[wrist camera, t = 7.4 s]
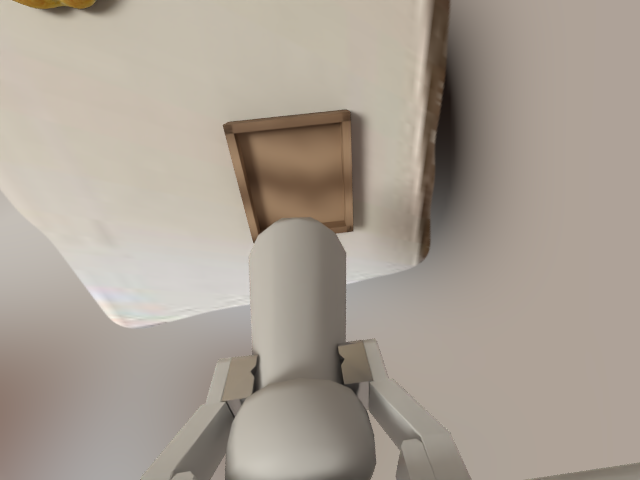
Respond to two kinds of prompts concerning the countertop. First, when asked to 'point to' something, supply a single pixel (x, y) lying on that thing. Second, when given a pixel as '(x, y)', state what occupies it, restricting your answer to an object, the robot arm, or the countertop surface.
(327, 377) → the salt shaker
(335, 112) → the tray
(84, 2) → the bread roll
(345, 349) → the robot arm
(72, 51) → the countertop surface
